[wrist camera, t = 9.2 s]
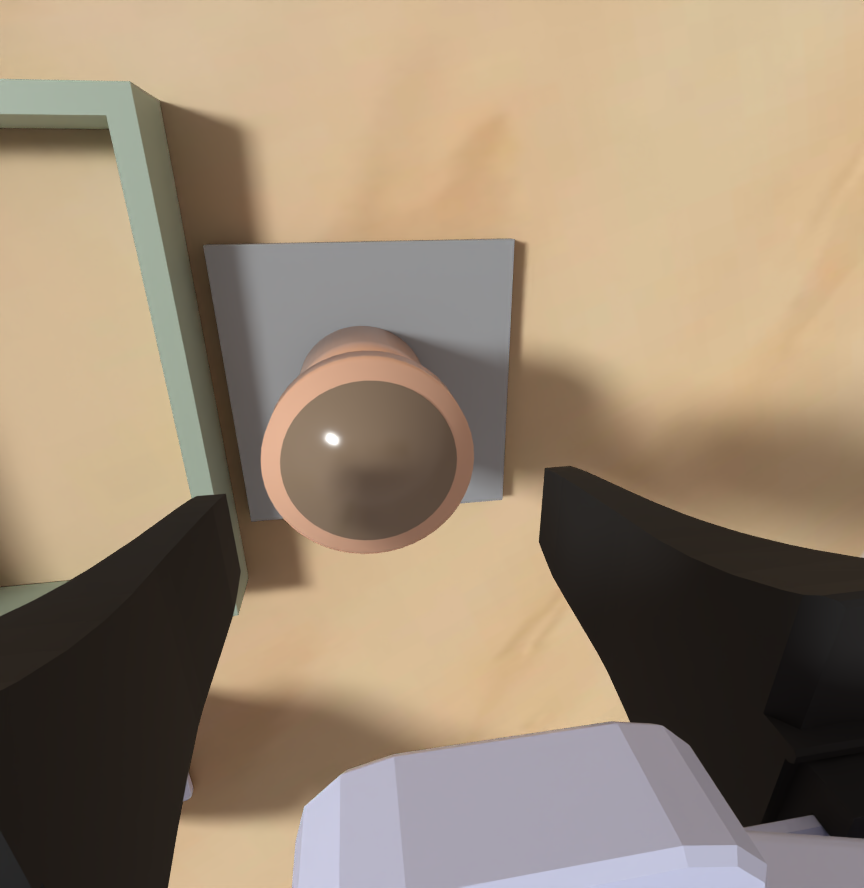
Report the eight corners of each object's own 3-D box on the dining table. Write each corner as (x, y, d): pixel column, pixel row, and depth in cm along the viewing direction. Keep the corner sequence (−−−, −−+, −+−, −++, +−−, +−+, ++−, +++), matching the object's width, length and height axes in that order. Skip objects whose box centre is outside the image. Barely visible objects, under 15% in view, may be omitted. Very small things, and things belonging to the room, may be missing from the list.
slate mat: (498, 493, 24) (502, 499, 24) (253, 514, 23) (251, 521, 22) (510, 238, 20) (514, 239, 19) (207, 244, 18) (203, 245, 18)
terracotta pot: (436, 450, 22) (472, 544, 16) (296, 461, 21) (275, 564, 15) (434, 312, 20) (476, 356, 14) (278, 317, 19) (244, 367, 13)
